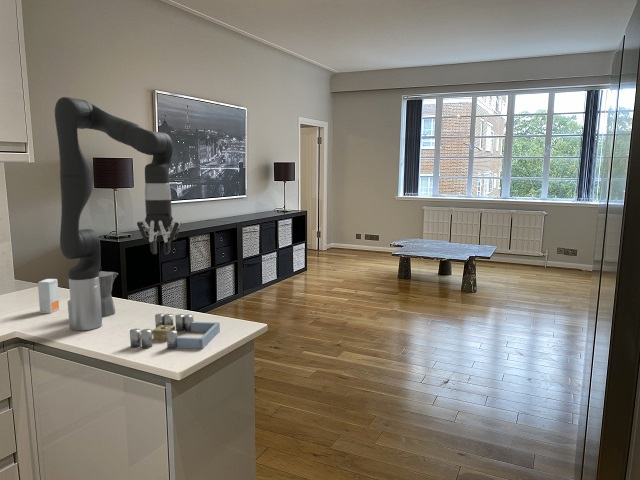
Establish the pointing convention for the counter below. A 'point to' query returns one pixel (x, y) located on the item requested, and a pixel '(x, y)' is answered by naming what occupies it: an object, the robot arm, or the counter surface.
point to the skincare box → (48, 295)
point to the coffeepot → (106, 292)
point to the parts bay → (200, 343)
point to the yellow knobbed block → (162, 332)
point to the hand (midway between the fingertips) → (160, 253)
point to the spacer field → (167, 319)
